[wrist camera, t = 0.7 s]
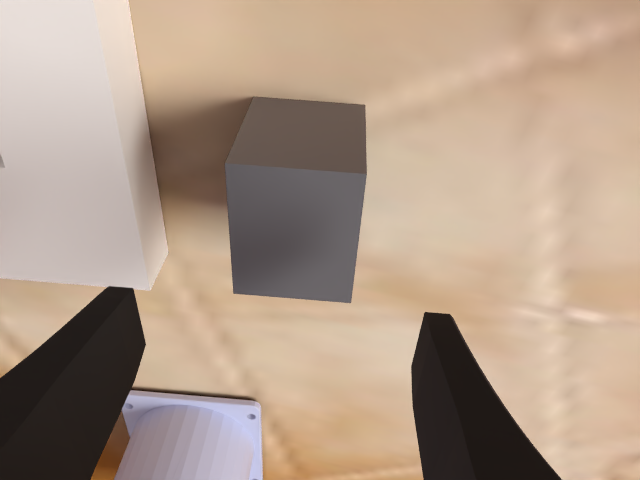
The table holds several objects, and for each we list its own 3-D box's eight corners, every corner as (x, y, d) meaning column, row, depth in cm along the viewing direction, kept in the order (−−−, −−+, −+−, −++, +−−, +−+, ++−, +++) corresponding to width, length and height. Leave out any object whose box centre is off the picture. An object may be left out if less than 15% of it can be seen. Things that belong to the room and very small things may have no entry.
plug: (352, 219, 21) (351, 303, 17) (256, 211, 22) (233, 293, 18) (365, 104, 18) (366, 173, 14) (253, 96, 19) (224, 163, 15)
